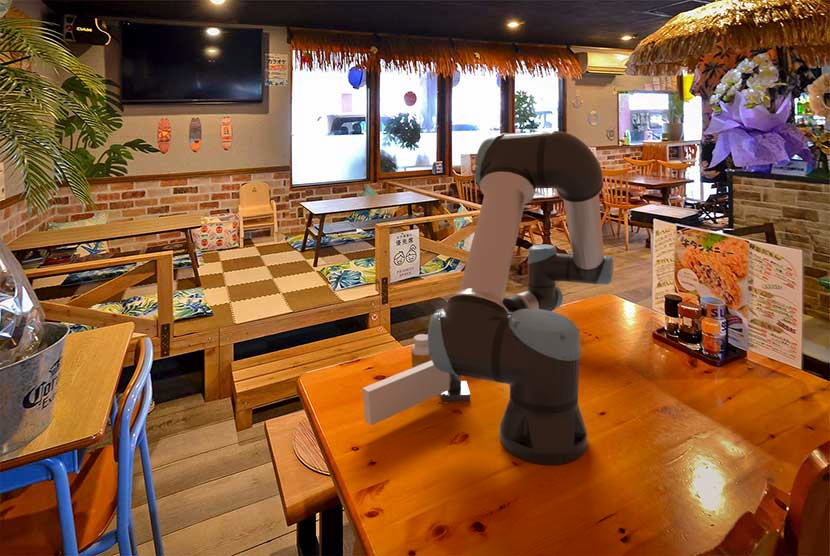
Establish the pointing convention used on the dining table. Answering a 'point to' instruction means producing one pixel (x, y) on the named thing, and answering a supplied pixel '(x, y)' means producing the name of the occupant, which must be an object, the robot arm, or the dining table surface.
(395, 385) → the swing arm
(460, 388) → the post
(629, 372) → the dining table surface
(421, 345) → the supplement bottle
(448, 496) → the dining table surface
